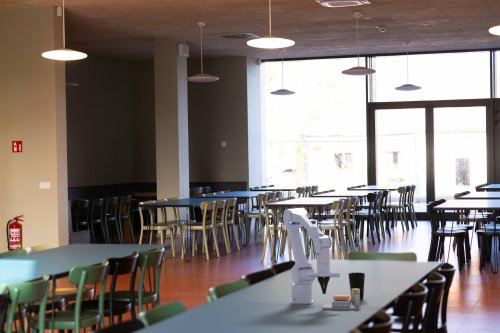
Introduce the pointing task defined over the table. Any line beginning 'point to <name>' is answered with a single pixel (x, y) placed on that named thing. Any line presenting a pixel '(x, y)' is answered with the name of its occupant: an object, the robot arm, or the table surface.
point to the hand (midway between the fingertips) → (324, 293)
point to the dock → (343, 305)
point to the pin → (340, 297)
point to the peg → (355, 294)
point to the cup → (357, 283)
